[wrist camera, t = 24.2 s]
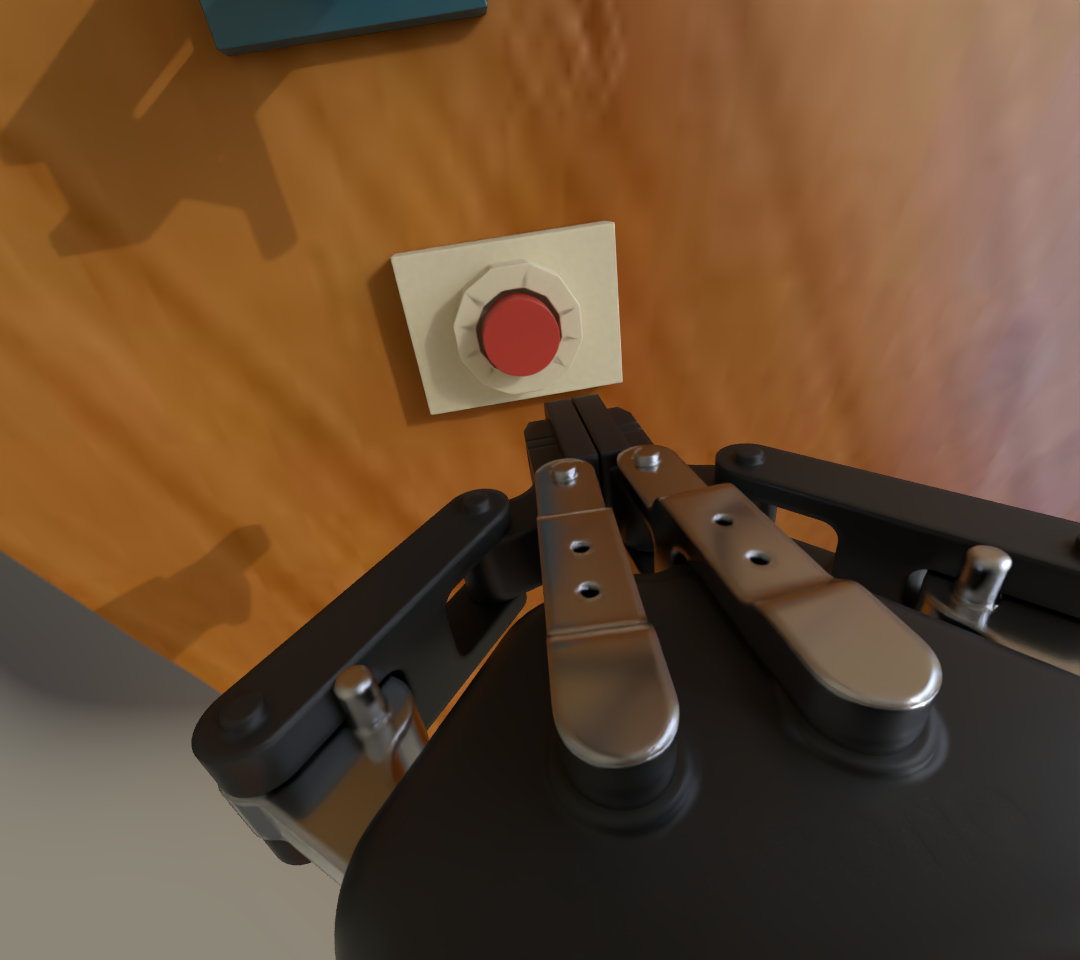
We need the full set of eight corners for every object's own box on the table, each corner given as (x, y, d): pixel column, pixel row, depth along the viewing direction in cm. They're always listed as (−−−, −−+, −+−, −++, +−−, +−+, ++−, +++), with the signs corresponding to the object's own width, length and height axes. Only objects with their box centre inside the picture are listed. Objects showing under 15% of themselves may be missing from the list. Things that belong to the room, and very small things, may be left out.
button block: (432, 405, 33) (429, 427, 30) (393, 253, 28) (385, 261, 25) (615, 373, 33) (631, 392, 30) (606, 220, 29) (623, 224, 26)
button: (489, 372, 29) (490, 382, 28) (475, 299, 27) (476, 306, 26) (558, 360, 29) (563, 370, 28) (550, 287, 27) (555, 293, 26)
